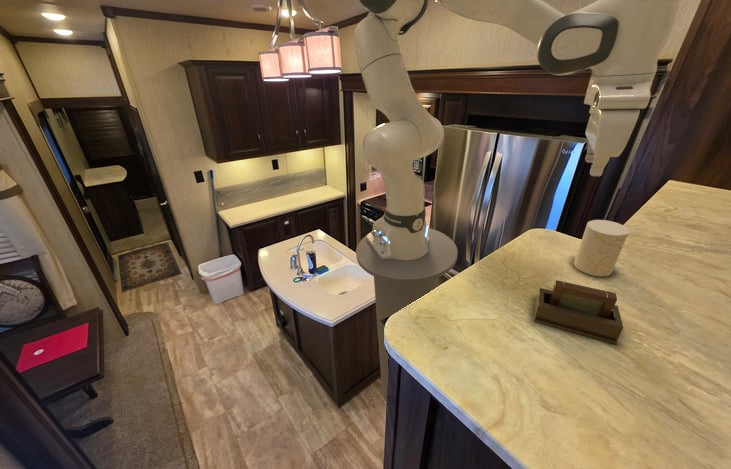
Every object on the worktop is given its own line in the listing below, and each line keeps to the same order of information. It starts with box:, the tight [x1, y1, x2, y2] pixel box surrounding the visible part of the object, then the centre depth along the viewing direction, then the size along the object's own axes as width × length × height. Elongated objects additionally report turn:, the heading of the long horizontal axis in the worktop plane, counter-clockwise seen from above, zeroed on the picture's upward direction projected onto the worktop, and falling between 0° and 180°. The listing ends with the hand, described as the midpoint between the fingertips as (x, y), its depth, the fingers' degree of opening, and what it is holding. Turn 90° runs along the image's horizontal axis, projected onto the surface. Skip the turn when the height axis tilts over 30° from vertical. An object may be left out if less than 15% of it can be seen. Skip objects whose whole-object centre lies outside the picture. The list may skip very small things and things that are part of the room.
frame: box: [548, 279, 618, 319], centre depth 59 cm, size 2×10×8 cm, turn 60°
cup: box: [573, 219, 630, 277], centre depth 74 cm, size 8×8×12 cm
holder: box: [533, 287, 624, 345], centre depth 60 cm, size 8×14×4 cm, turn 61°
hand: (592, 168), depth 58 cm, fingers open, 8 cm apart
